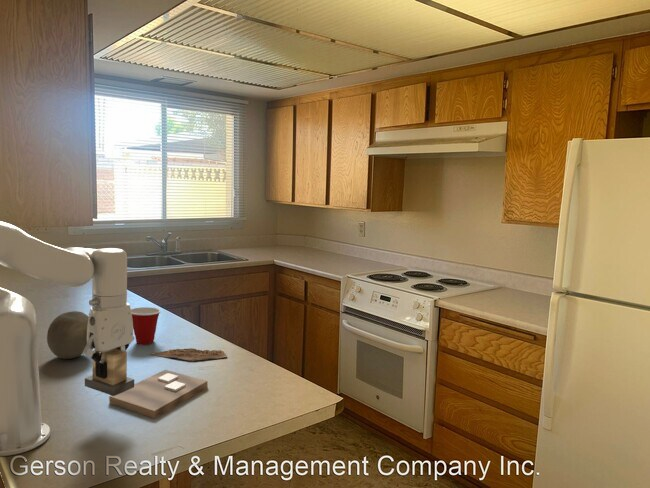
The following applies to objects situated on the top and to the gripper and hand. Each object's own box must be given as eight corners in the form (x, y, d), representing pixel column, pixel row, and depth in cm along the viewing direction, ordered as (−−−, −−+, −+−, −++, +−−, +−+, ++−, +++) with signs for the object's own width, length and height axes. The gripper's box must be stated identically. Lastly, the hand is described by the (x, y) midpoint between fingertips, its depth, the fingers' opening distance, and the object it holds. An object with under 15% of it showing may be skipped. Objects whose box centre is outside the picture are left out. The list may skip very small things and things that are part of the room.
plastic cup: (168, 341, 174) (167, 308, 172) (141, 349, 165) (140, 315, 163) (149, 334, 180) (148, 303, 178) (123, 342, 171) (121, 310, 169)
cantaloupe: (48, 369, 147) (46, 321, 145) (47, 353, 159) (45, 309, 157) (99, 361, 155) (97, 315, 152) (94, 346, 167) (92, 304, 164)
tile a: (175, 391, 131) (175, 389, 130) (164, 388, 132) (164, 386, 132) (185, 386, 134) (185, 384, 134) (174, 382, 136) (174, 380, 136)
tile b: (168, 383, 136) (168, 381, 136) (157, 380, 137) (157, 378, 137) (178, 377, 139) (178, 375, 139) (168, 375, 141) (168, 373, 141)
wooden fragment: (232, 352, 166) (232, 349, 166) (222, 365, 155) (222, 361, 155) (159, 348, 168) (159, 345, 168) (145, 360, 157) (145, 357, 157)
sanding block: (113, 396, 113) (113, 359, 111) (84, 386, 117) (84, 350, 116) (134, 387, 118) (134, 351, 117) (105, 377, 122) (105, 343, 121)
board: (154, 418, 120) (154, 410, 120) (109, 403, 127) (109, 396, 127) (207, 387, 138) (207, 380, 138) (165, 375, 145) (165, 369, 145)
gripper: (89, 310, 106) (90, 390, 108) (148, 296, 121) (147, 366, 123) (66, 304, 109) (67, 382, 111) (126, 291, 124) (126, 360, 126)
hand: (109, 373), depth 117 cm, fingers closed on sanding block, 4 cm apart
